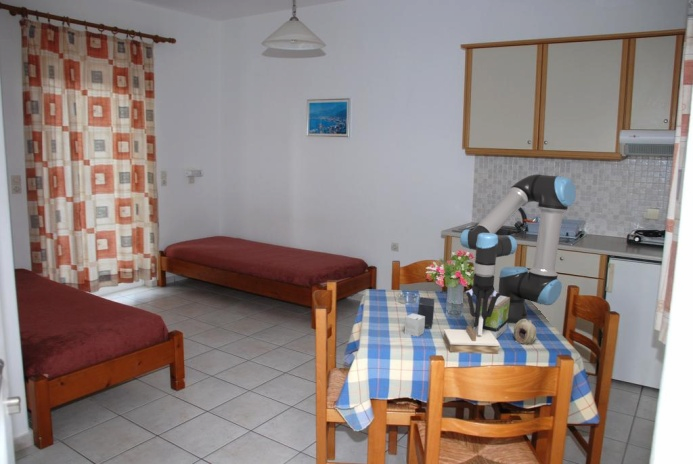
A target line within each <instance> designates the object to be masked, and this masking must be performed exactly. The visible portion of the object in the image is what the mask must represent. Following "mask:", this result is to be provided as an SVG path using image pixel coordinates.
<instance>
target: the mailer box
mask: <svg viewBox="0 0 693 464" xmlns="http://www.w3.org/2000/svg"><path fill="white" fill-rule="evenodd" d="M443 340H444V341H443V342H444V343H445V345H446V347H447V349H448V351H449V353H459V354H460V353H461V354H462V353H463V354H468V353H469V354H489V355H490V354H492V355H493V354H494V355H498V354H499V347H500V346H485V345H454V344H450V343H449V341H448V339H447V337H446V335H445V333H444V332H443Z"/></svg>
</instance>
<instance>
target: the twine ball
mask: <svg viewBox="0 0 693 464" xmlns="http://www.w3.org/2000/svg"><path fill="white" fill-rule="evenodd" d="M513 337H514V342H515V343H516V342H518V343H522V344H521V345H524V344H526V345H531V344H533V342H534V341H535V339H536V337H537V327H536V326H535V324H534V323H532V320H530V319H529V320H528V318H527V319H521V320H519V321H518V322H517V323H515V324H514V327H513ZM518 343H517V344H518ZM530 343H531V344H530Z"/></svg>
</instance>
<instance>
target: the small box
mask: <svg viewBox="0 0 693 464" xmlns="http://www.w3.org/2000/svg"><path fill="white" fill-rule="evenodd" d="M417 306H418V308H417V314H418V315H422V316H425V327H424V329H426V330H427V329H429V330H432V327H433V321H434V316H435V315H434V314H435V298H431V297H430V298H429V297H423V296H421V297H419V302H418V305H417Z"/></svg>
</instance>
